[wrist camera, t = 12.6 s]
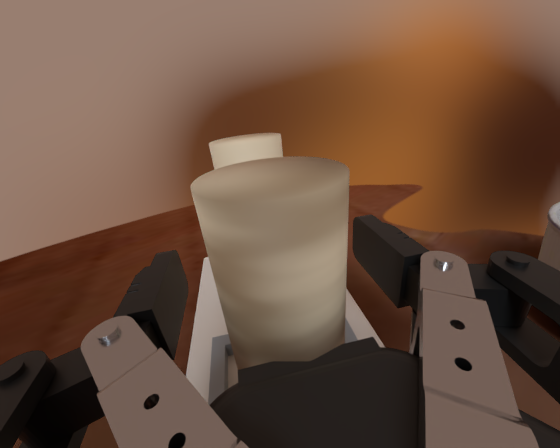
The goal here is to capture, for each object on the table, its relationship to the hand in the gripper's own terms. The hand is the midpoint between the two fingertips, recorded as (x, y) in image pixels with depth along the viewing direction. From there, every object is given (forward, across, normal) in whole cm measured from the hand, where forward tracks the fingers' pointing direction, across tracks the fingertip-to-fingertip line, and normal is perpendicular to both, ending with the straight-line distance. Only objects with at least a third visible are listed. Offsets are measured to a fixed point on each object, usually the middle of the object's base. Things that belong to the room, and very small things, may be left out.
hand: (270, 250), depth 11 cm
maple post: (-2, 0, +8) cm, 8 cm away
